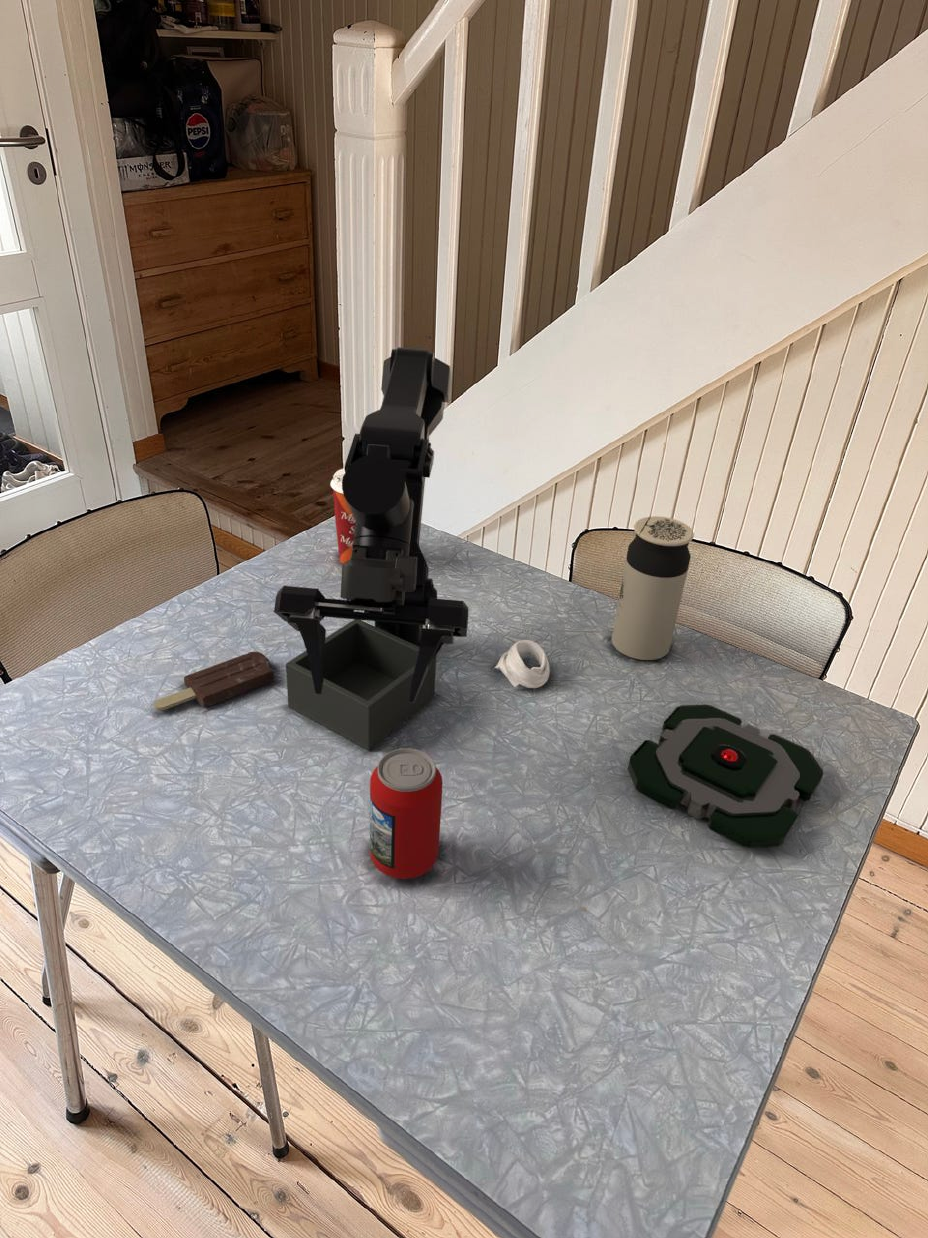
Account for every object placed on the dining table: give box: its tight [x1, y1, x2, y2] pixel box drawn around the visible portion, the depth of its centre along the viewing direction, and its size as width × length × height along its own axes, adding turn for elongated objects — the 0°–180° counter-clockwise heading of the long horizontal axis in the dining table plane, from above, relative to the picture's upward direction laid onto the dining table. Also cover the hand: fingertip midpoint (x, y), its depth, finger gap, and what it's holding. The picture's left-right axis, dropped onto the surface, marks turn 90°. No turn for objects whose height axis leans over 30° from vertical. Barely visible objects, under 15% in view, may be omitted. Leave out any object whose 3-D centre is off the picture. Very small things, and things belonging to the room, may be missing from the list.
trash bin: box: [285, 619, 438, 752], centre depth 104 cm, size 13×13×6 cm
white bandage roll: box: [492, 639, 551, 689], centre depth 111 cm, size 8×7×5 cm
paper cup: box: [330, 467, 356, 565], centre depth 131 cm, size 8×8×14 cm
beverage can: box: [369, 747, 443, 880], centre depth 83 cm, size 7×7×12 cm
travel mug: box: [611, 515, 695, 661], centre depth 115 cm, size 8×8×18 cm
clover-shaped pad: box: [627, 703, 824, 849], centre depth 96 cm, size 18×18×5 cm
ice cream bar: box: [153, 651, 275, 711], centre depth 106 cm, size 5×2×15 cm
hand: (364, 698), depth 85 cm, fingers open, 9 cm apart
